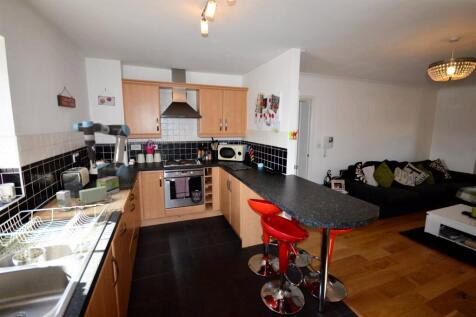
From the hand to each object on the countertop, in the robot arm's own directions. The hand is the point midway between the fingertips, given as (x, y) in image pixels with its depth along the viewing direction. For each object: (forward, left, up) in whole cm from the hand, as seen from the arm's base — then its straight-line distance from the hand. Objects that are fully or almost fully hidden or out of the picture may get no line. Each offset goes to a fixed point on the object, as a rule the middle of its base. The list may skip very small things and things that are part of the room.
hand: (93, 167), depth 182 cm
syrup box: (+25, +16, -27) cm, 40 cm away
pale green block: (+7, +18, -24) cm, 31 cm away
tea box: (-11, -2, -27) cm, 29 cm away
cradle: (+7, +18, -26) cm, 33 cm away
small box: (+11, -17, -27) cm, 33 cm away
